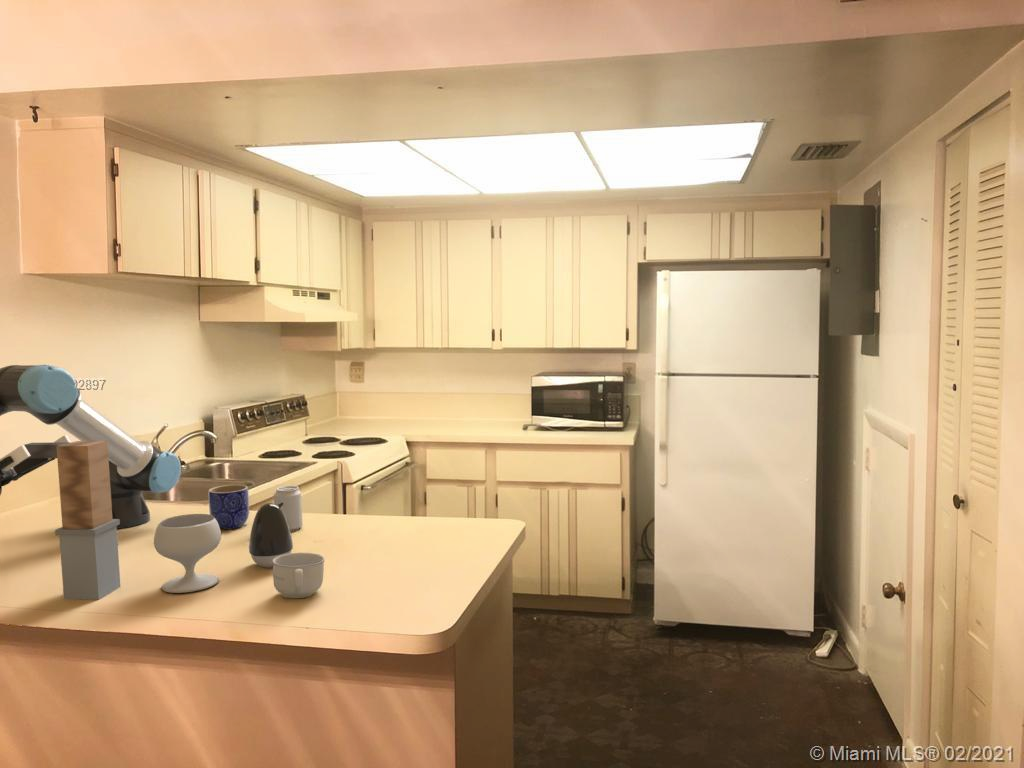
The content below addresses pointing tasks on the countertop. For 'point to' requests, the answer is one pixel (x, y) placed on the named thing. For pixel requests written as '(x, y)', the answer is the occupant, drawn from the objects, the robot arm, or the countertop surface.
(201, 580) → the chalice
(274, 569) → the teacup
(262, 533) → the pump dispenser
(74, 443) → the walnut handle block
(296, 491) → the can
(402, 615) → the countertop surface
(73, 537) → the stand
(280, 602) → the countertop surface
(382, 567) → the countertop surface
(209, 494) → the planter
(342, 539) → the countertop surface
